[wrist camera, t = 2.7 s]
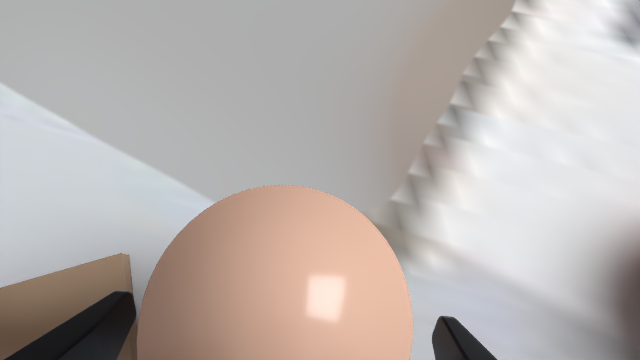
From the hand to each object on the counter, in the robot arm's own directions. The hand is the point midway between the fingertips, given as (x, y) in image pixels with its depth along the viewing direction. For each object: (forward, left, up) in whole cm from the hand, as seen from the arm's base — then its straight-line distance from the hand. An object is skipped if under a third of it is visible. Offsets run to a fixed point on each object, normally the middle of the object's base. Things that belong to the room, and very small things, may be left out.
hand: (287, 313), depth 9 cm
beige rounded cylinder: (0, 0, -8) cm, 8 cm away
